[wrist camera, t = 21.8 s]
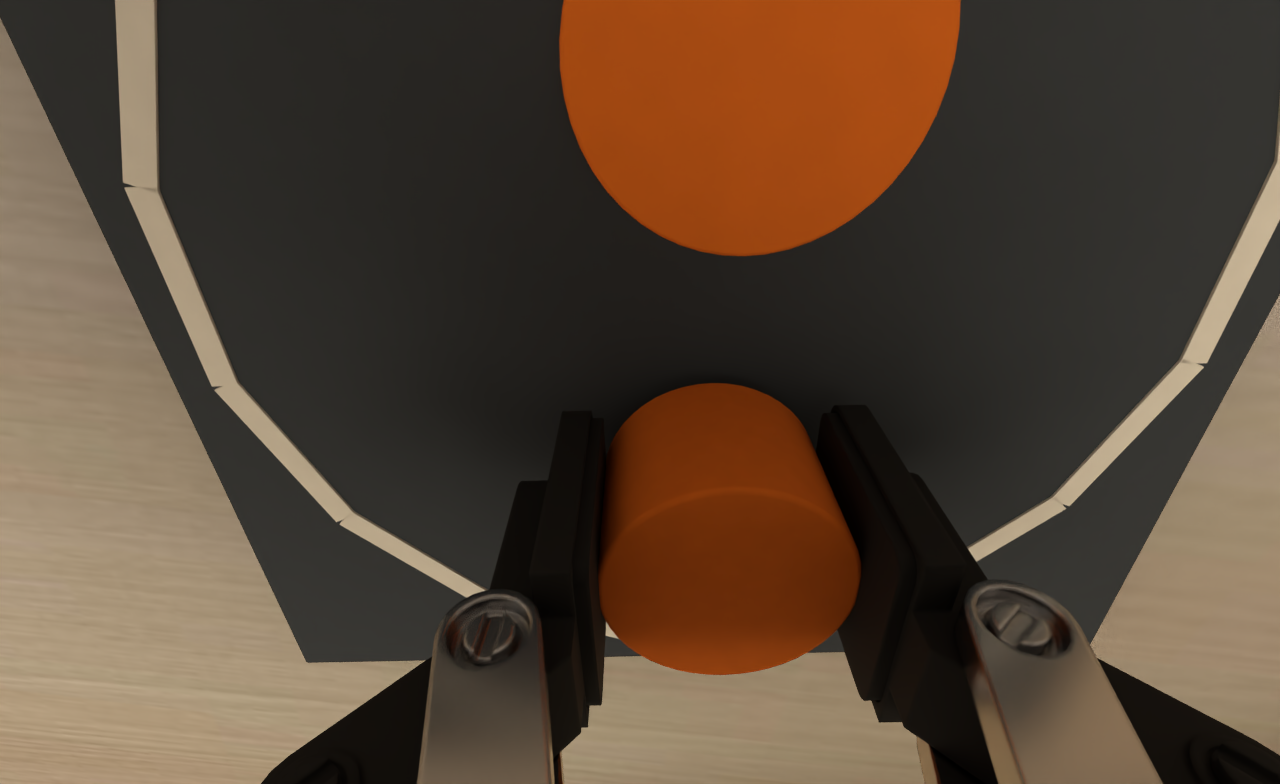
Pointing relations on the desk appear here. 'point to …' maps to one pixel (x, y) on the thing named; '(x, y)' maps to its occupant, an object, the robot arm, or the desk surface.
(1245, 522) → the desk surface
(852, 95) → the orange cylinder puck
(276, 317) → the mat
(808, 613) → the orange round drum
